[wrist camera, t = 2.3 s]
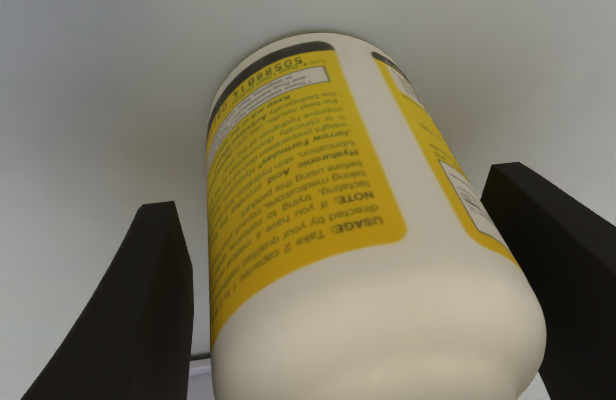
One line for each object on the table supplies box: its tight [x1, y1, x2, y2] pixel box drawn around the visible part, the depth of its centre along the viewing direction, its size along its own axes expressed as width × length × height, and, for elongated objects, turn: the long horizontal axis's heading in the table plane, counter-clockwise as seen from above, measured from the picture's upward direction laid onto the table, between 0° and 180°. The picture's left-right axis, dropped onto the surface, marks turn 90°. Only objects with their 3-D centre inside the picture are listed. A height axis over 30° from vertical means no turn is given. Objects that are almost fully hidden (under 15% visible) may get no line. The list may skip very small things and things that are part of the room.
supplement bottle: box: [206, 33, 546, 400], centre depth 9 cm, size 5×5×10 cm
